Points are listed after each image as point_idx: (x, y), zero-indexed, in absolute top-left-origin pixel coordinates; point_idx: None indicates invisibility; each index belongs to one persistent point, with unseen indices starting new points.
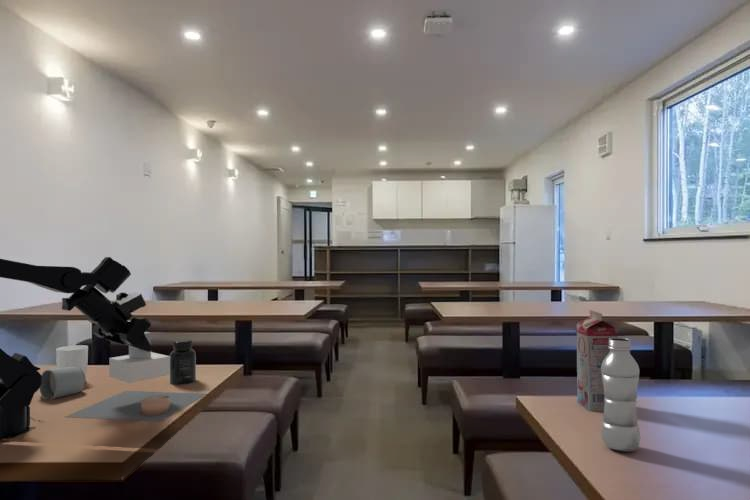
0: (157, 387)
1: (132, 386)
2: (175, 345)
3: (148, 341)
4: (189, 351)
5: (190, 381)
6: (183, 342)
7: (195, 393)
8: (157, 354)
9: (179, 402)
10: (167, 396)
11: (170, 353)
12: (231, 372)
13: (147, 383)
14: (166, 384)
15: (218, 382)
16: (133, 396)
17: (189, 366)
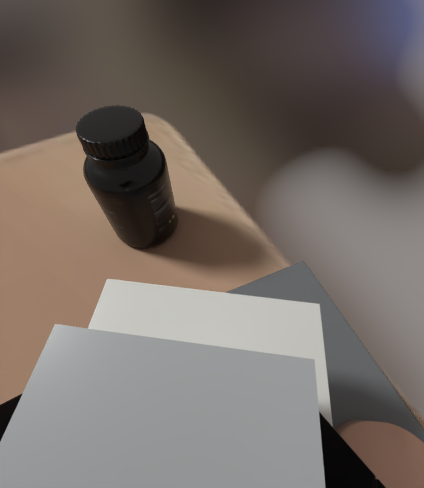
0: (112, 274)
1: (30, 301)
2: (106, 154)
3: (341, 437)
4: (156, 154)
5: (176, 219)
6: (134, 134)
7: (275, 273)
8: (214, 306)
9: (326, 355)
10: (389, 428)
11: (95, 183)
12: (176, 137)
13: (53, 263)
14: (113, 246)
15: (217, 187)
16: None
17: (170, 194)
